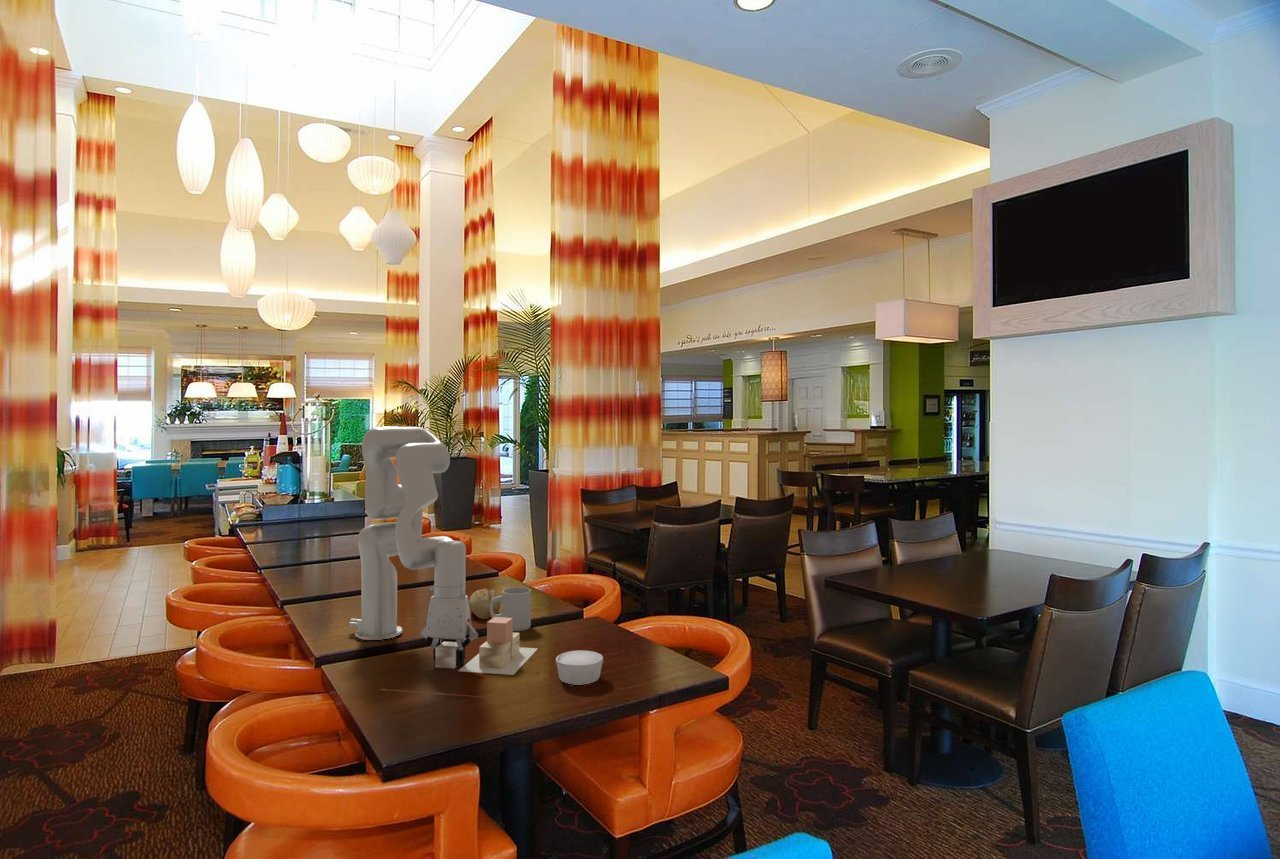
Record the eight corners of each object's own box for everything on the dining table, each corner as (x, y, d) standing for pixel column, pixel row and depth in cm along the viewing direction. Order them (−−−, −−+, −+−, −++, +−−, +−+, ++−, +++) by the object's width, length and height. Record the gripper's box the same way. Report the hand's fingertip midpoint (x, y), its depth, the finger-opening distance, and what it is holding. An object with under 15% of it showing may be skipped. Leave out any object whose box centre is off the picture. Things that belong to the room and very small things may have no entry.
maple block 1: (479, 667, 174) (479, 646, 174) (488, 659, 180) (488, 639, 180) (502, 668, 173) (502, 648, 173) (510, 660, 179) (510, 640, 179)
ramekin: (550, 674, 170) (550, 652, 170) (593, 668, 175) (593, 647, 175) (563, 691, 160) (563, 668, 160) (609, 684, 164) (609, 661, 164)
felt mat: (458, 672, 171) (458, 670, 171) (488, 646, 191) (488, 645, 191) (513, 675, 169) (513, 674, 169) (537, 649, 188) (537, 648, 188)
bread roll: (495, 607, 231) (495, 583, 231) (505, 619, 218) (505, 593, 217) (465, 610, 227) (465, 585, 227) (473, 622, 214) (474, 596, 214)
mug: (529, 622, 214) (529, 586, 214) (531, 630, 206) (532, 593, 206) (489, 624, 211) (489, 588, 211) (490, 633, 203) (490, 595, 203)
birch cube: (435, 667, 173) (435, 647, 173) (443, 661, 178) (444, 641, 178) (454, 669, 173) (454, 649, 173) (462, 662, 178) (462, 642, 177)
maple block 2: (489, 657, 181) (489, 638, 181) (497, 650, 187) (497, 631, 186) (511, 659, 180) (512, 639, 180) (519, 651, 186) (519, 632, 186)
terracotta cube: (486, 641, 178) (487, 622, 178) (494, 636, 183) (494, 616, 182) (505, 643, 177) (505, 623, 177) (512, 637, 182) (512, 618, 182)
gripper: (410, 593, 173) (409, 666, 173) (476, 596, 170) (475, 671, 170) (424, 586, 180) (423, 656, 180) (487, 589, 178) (487, 660, 178)
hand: (449, 662), depth 175 cm, fingers closed on birch cube, 4 cm apart
